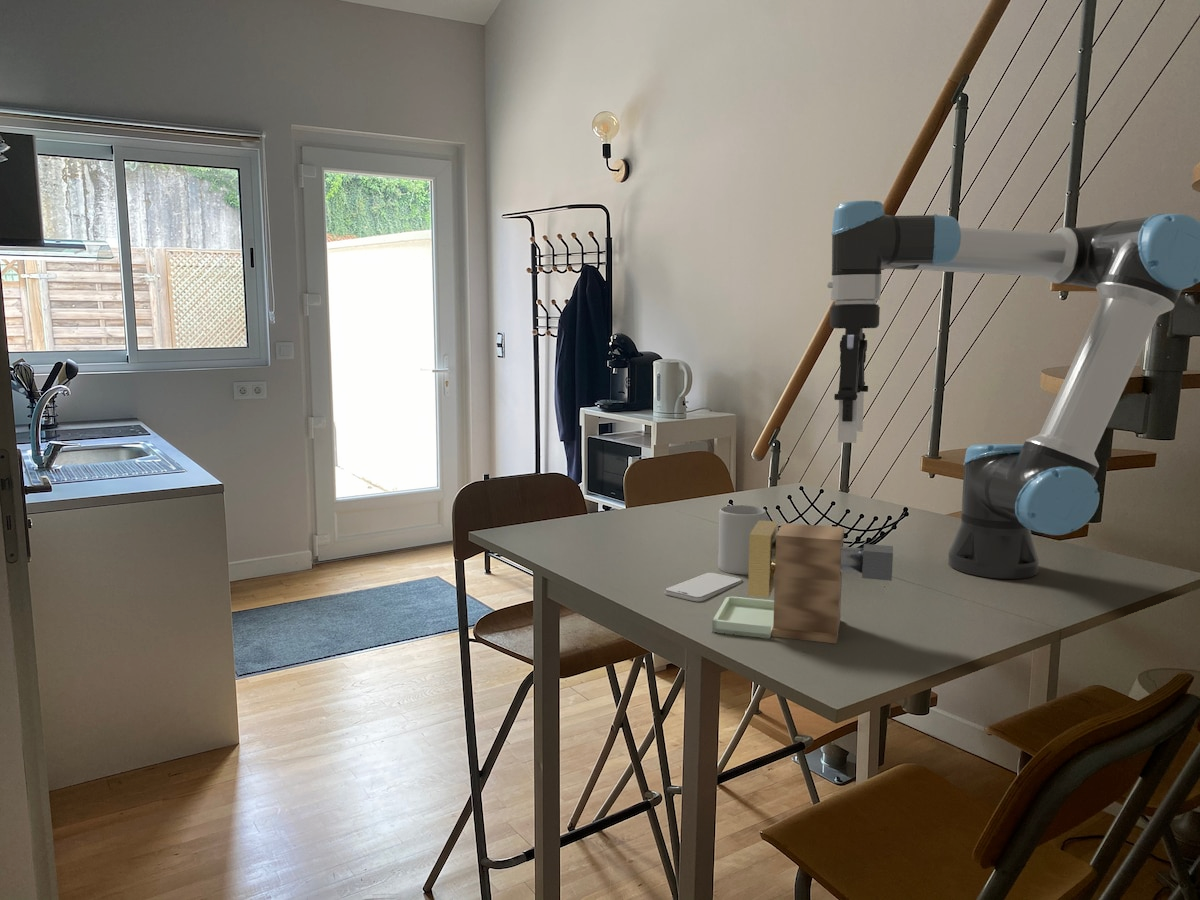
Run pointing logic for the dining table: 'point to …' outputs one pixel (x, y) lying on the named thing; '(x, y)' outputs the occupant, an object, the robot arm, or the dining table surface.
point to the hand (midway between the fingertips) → (850, 436)
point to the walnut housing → (808, 582)
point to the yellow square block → (761, 559)
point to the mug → (737, 536)
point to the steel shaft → (863, 561)
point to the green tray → (745, 617)
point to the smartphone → (702, 586)
